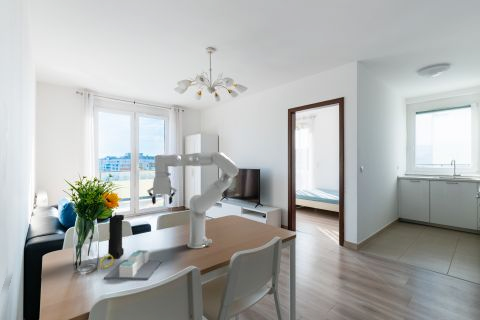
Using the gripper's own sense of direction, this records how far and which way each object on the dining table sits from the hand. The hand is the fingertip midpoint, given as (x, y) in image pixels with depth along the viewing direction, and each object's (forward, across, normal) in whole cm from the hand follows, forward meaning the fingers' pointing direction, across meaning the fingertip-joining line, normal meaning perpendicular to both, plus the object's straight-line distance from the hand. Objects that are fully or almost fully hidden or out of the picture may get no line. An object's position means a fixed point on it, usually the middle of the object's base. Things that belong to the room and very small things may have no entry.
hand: (162, 203), depth 138 cm
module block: (+26, +5, +26) cm, 37 cm away
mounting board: (+27, +6, +26) cm, 38 cm away
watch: (+27, +21, +22) cm, 41 cm away
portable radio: (+27, +23, +10) cm, 37 cm away
